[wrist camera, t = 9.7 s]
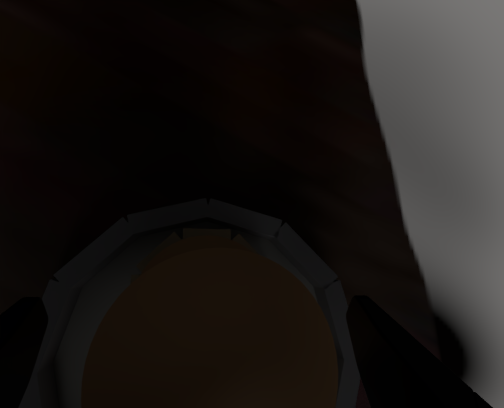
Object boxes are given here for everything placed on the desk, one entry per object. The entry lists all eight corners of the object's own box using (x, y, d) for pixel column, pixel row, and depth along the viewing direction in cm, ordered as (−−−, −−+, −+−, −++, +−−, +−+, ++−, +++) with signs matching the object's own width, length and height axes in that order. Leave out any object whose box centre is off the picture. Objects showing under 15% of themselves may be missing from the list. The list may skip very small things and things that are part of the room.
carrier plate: (192, 600, 15) (190, 690, 12) (-27, 358, 16) (-86, 382, 13) (387, 345, 19) (426, 360, 16) (208, 158, 20) (210, 136, 17)
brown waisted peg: (200, 384, 16) (207, 728, 4) (121, 298, 16) (-95, 389, 4) (280, 298, 18) (456, 365, 6) (207, 220, 18) (225, 124, 6)
